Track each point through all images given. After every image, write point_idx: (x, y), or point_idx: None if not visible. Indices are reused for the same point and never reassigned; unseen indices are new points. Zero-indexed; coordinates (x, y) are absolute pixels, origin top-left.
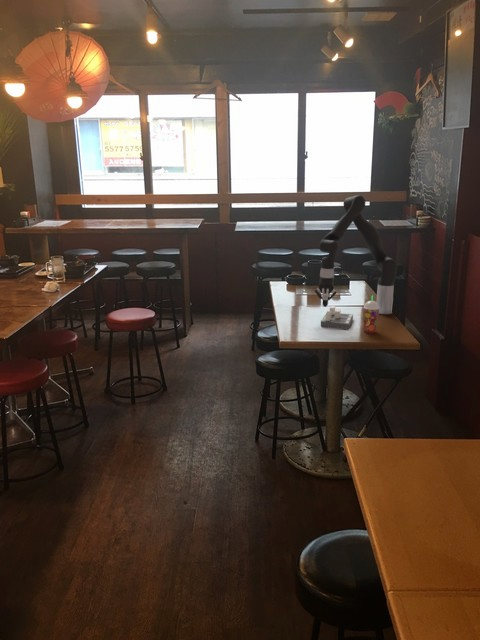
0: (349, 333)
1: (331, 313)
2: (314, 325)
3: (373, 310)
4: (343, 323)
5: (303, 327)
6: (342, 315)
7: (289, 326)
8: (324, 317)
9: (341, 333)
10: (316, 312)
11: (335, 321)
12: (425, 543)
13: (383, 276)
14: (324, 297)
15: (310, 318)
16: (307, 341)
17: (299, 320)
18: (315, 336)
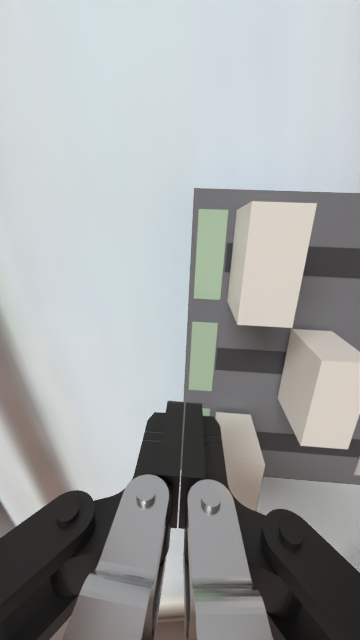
0: (350, 512)
1: (260, 456)
2: (143, 429)
3: None
4: (339, 482)
5: (94, 472)
6: (357, 278)
7: (21, 471)
8: (192, 384)
9: (305, 519)
10: (65, 28)
11: (282, 455)
12: None
13: None
14: (157, 600)
15: (76, 282)
16: (161, 611)
17: (24, 354)
18: (181, 567)
